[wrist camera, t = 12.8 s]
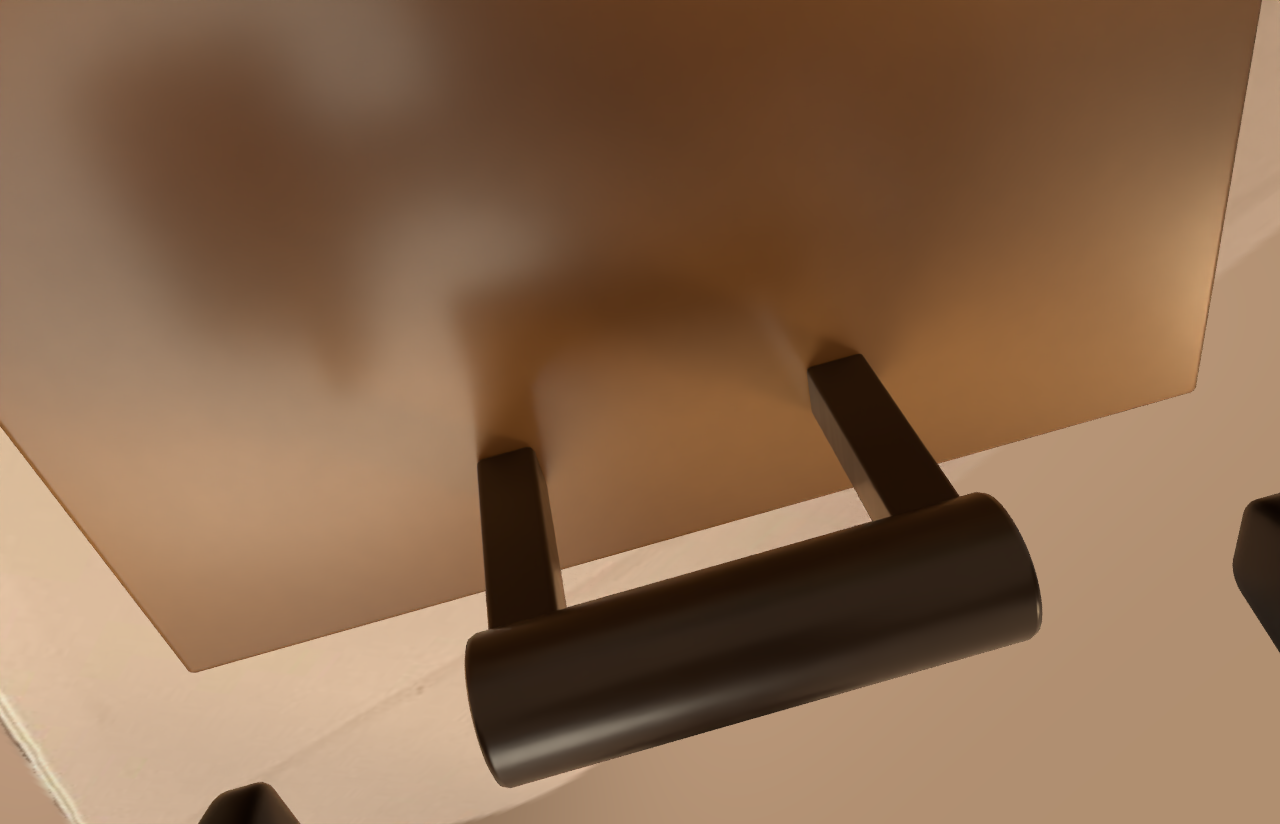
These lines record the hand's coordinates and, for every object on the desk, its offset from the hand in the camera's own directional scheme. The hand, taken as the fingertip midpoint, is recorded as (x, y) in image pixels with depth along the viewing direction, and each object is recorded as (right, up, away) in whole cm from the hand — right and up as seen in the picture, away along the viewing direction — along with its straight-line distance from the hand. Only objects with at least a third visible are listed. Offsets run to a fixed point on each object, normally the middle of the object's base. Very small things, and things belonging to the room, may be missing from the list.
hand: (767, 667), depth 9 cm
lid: (-2, +5, +1) cm, 6 cm away
